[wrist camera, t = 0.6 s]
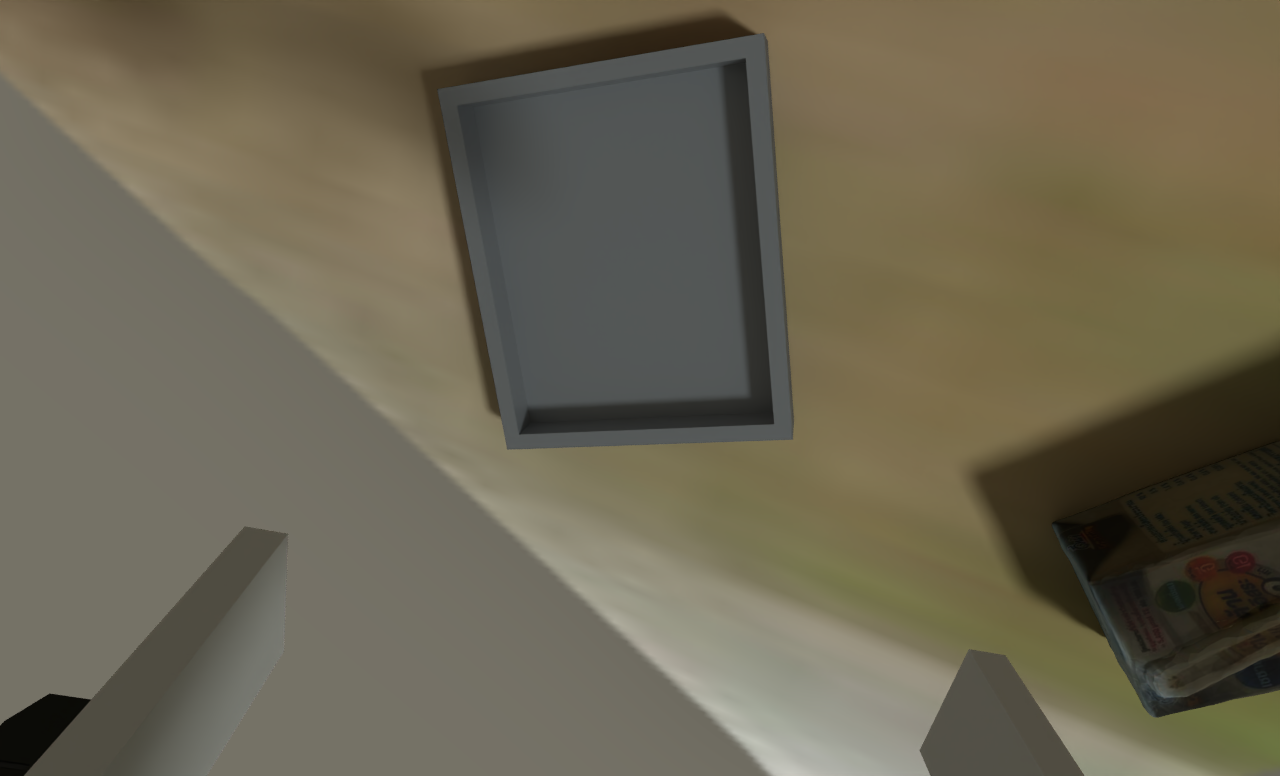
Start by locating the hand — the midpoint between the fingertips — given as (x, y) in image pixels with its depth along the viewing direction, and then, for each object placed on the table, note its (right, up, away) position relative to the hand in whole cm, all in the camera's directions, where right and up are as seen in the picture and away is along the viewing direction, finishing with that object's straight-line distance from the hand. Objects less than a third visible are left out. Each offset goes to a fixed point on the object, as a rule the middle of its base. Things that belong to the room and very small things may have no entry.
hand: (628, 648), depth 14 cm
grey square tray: (0, +11, +22) cm, 25 cm away
